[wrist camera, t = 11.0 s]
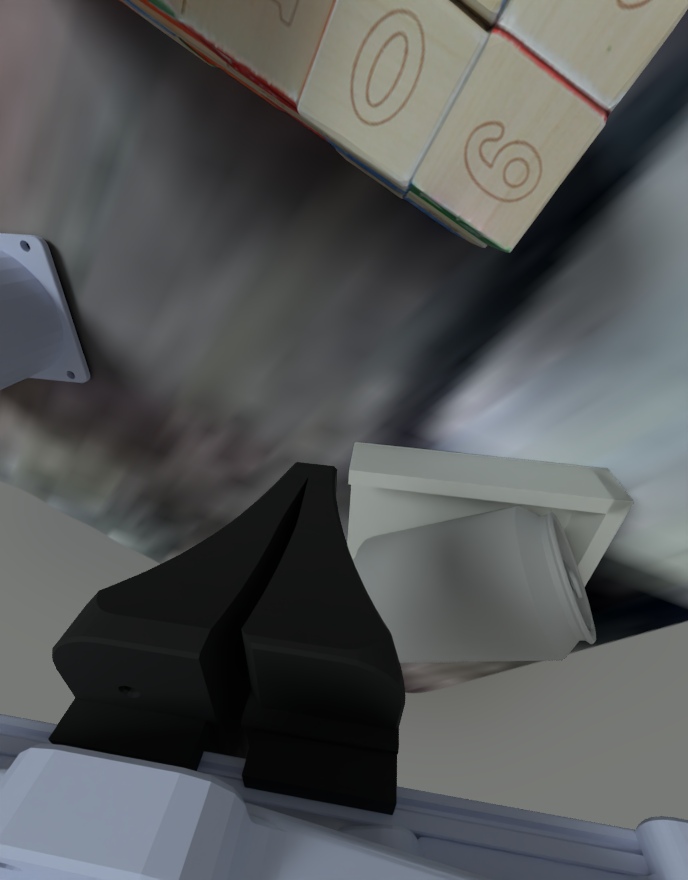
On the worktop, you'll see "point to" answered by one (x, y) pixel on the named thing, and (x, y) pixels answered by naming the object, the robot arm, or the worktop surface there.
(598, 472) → the tray
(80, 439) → the worktop surface
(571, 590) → the can
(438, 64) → the stack of blocks
